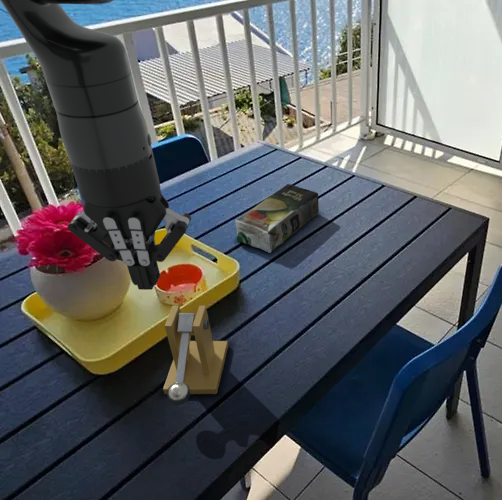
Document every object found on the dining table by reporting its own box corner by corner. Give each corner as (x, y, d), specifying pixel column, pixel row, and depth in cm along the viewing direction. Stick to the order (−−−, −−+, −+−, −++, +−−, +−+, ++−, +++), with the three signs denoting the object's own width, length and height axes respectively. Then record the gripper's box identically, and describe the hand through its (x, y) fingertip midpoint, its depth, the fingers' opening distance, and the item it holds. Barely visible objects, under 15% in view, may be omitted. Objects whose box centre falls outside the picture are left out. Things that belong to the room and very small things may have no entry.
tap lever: (191, 406, 72) (185, 403, 69) (169, 406, 71) (162, 403, 68) (202, 318, 77) (196, 312, 74) (181, 317, 77) (175, 312, 74)
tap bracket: (216, 394, 77) (205, 340, 70) (164, 394, 76) (147, 340, 69) (228, 345, 85) (219, 293, 78) (181, 345, 84) (167, 292, 77)
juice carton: (269, 256, 105) (266, 232, 101) (233, 243, 109) (229, 219, 105) (320, 214, 119) (320, 192, 116) (287, 204, 123) (285, 181, 120)
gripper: (21, 165, 45) (78, 306, 56) (168, 167, 46) (197, 307, 56) (58, 132, 51) (103, 265, 62) (188, 134, 52) (211, 266, 62)
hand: (148, 285), depth 59 cm, fingers closed
